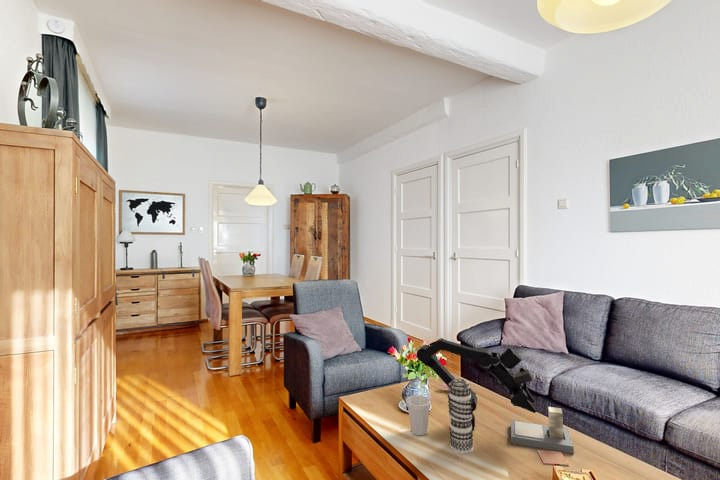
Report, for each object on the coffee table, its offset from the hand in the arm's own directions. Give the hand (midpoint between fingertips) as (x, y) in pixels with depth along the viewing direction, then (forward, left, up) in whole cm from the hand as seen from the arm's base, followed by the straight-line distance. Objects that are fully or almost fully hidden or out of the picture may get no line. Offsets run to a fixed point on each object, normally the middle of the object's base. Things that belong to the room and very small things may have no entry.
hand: (534, 407), depth 146 cm
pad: (+2, -14, -12) cm, 18 cm away
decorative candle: (-29, -11, -12) cm, 33 cm away
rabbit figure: (-28, +41, -12) cm, 51 cm away
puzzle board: (+2, 0, -12) cm, 12 cm away
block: (+7, -2, -12) cm, 14 cm away
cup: (-45, -2, -12) cm, 47 cm away
